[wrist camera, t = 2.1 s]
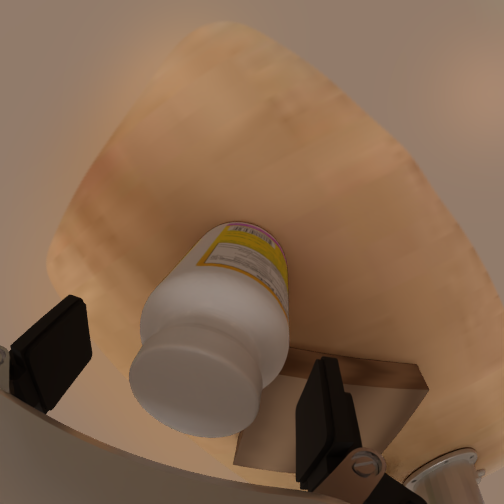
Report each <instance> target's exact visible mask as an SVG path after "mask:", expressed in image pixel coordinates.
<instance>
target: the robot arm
mask: <svg viewBox="0 0 504 504" xmlns="http://www.w3.org/2000/svg"><path fill="white" fill-rule="evenodd" d="M91 357H92V348H91V341H90V334H89V327H88V319H87V310H86V304H85V303H84V302H83V300H82V299H81V298H79V297H76V296H73V295H68V296H67V297H66V298H65V299H63V300H62V301H61V302H60V303H59V304H57V305H56V306H55V307H54V308H53V309H51V310H50V311H49V312H48V313H47V314H45V315H44V316H43V317H42V318H41V319H40V320H39V321H38V322H36V323H35V324H34V325H33V326H32V327H31V328H29V329H28V330H27V331H26V332H25V333H24V334H23V335H22V336H20V337H19V338H18V339H17V340H16V341H15V342H14V343H13V344H12V345H11V350H10V351H9V352H8V350H7V349H6V348H5V347H3V346H0V504H484V501H483V498H482V495H481V493H480V490H479V487H478V484H479V483H480V481H481V476H483V475H484V474H485V469H479V470H477V471H476V469H475V466H474V464H475V462H476V460H477V454H476V451H475V450H474V449H470V448H466V449H460V450H457V451H454V452H451V453H448V454H446V455H444V456H441V457H439V458H437V459H435V460H433V461H431V462H430V463H428V464H426V465H424V466H423V467H421V468H420V469H418V470H417V471H415V472H414V473H413V474H412V475H410V476H409V477H408V478H407V479H406V481H405V482H404V484H403V485H402V484H401V483H399V482H398V481H396V480H395V479H393V478H392V477H390V476H389V475H387V474H386V473H385V471H386V462H385V459H384V458H383V457H382V455H381V454H380V453H378V452H377V451H375V450H373V449H371V448H366V447H363V446H362V441H361V436H360V431H359V426H358V421H357V416H356V412H355V407H354V402H353V398H352V395H351V393H348V392H345V391H344V386H343V381H342V377H341V372H340V367H339V363H338V359H337V358H334V357H326V356H322V357H321V359H316V361H315V363H314V365H313V368H312V370H311V373H310V375H309V377H308V380H307V382H306V385H305V387H304V389H303V392H302V394H301V396H300V398H299V401H298V403H297V406H296V411H295V424H296V482H300V489H303V490H308V492H306V491H301V490H293V489H285V488H278V487H270V486H262V485H255V484H249V483H242V482H237V481H232V480H226V479H221V478H216V477H211V476H206V475H202V474H198V473H194V472H190V471H186V470H182V469H178V468H175V467H171V466H168V465H164V464H161V463H158V462H155V461H152V460H148V459H146V458H143V457H140V456H137V455H134V454H131V453H128V452H126V451H123V450H120V449H118V448H115V447H113V446H110V445H107V444H105V443H103V442H100V441H98V440H96V439H94V438H92V437H89V436H87V435H85V434H83V433H81V432H78V431H76V430H74V429H72V428H70V427H68V426H66V425H64V424H62V423H60V422H58V421H56V420H55V419H53V418H51V417H49V416H47V415H46V413H47V412H48V411H49V410H52V409H53V408H54V407H55V406H56V404H57V403H58V401H59V400H60V399H61V397H62V396H63V395H64V394H65V392H66V391H67V389H68V388H69V387H70V386H71V384H72V383H73V382H74V380H75V379H76V378H77V376H78V375H79V374H80V373H81V371H82V370H83V369H84V367H85V366H86V365H87V363H88V362H89V361H90V360H91Z"/></svg>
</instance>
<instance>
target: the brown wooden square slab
mask: <svg viewBox="0 0 504 504" xmlns="http://www.w3.org/2000/svg"><path fill="white" fill-rule="evenodd" d="M322 356H326V357H334V358H337V359H338V363H339V367H340V372H341V377H342V381H343V386H344V391H345V392H348V393H351V395H352V398H353V402H354V407H355V412H356V416H357V421H358V426H359V431H360V436H361V441H362V446H363V447H366V448H371V449H373V450H375V451H377V452H378V453H380V454H382V452H383V451H384V450H385V449H386V448H387V446H388V445H389V444H390V443H391V442H392V440H393V439H394V438H395V437H396V435H397V434H398V433H399V432H400V430H401V429H402V428H403V426H404V425H405V424H406V422H407V421H408V420H409V418H410V417H411V416H412V414H413V413H414V412H415V410H416V409H417V407H418V406H419V404H420V403H421V401H422V400H423V399H424V397H425V396H426V394H427V393H428V391H429V388H428V386H427V384H426V382H425V380H424V378H423V376H422V374H421V372H420V370H419V368H418V366H417V365H416V364H405V363H394V362H385V361H376V360H368V359H360V358H352V357H345V356H338V355H331V354H325V353H318V352H312V351H306V350H301V349H295V348H289V350H288V354H287V358H286V361H285V363H284V366H283V368H282V369H281V371H280V372H279V374H278V375H277V377H276V378H275V379H274V380H273V381H272V382H271V383H270V384H269V385H267V386H266V387H265V388H263V389H262V393H261V399H260V406H259V411H258V414H257V416H256V418H255V419H254V421H253V422H252V423H251V424H250V425H249V426H248V427H247V428H245V429H244V430H242V431H240V434H239V437H238V441H237V447H236V452H235V457H234V462H233V465H238V466H243V467H249V468H255V469H262V470H269V471H277V472H286V473H296V424H295V411H296V406H297V403H298V401H299V398H300V396H301V394H302V392H303V389H304V387H305V385H306V382H307V380H308V377H309V375H310V373H311V370H312V368H313V365H314V363H315V361H316V359H321V357H322Z"/></svg>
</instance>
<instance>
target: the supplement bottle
mask: <svg viewBox="0 0 504 504" xmlns="http://www.w3.org/2000/svg"><path fill="white" fill-rule="evenodd" d="M140 335H141V341H142V345H143V346H142V347H141V349H140V351H139V352H138V354H137V356H136V357H135V359H134V361H133V362H132V365H131V367H130V372H129V382H130V386H131V389H132V391H133V394H134V396H135V397H136V399H137V401H138V402H139V403H140V404H141V406H142V407H143V408H144V409H145V410H146V411H147V412H148V413H149V414H150V415H152V416H153V417H154V418H155V419H157V420H158V421H160V422H161V423H163V424H165V425H166V426H168V427H170V428H172V429H175V430H177V431H179V432H182V433H185V434H189V435H193V436H198V437H208V438H216V437H225V436H230V435H233V434H236V433H238V432H240V431H242V430H244V429H245V428H247V427H248V426H249V425H250V424H251V423H252V422H253V421H254V419H255V418H256V416H257V414H258V411H259V406H260V399H261V393H262V389H263V388H265V387H266V386H267V385H269V384H270V383H271V382H272V381H273V380H274V379H275V378H276V377H277V375H278V374H279V372H280V371H281V369H282V368H283V366H284V363H285V361H286V358H287V354H288V350H289V307H288V270H287V262H286V258H285V255H284V252H283V250H282V248H281V246H280V245H279V243H278V242H277V241H276V239H275V238H274V237H273V236H272V235H271V234H269V233H268V232H267V231H265V230H264V229H262V228H260V227H258V226H256V225H253V224H249V223H244V222H231V223H225V224H222V225H219V226H217V227H215V228H213V229H211V230H210V231H209V232H207V233H206V234H205V235H204V236H203V237H202V238H201V239H200V240H199V241H198V242H197V243H196V244H195V245H194V246H193V247H192V249H191V250H190V251H189V252H188V253H187V254H186V255H185V256H184V257H183V259H182V260H181V261H180V262H179V263H178V264H177V265H176V266H175V267H174V268H173V270H172V271H171V272H170V273H169V274H168V275H167V276H166V277H165V278H164V279H163V280H162V282H161V283H160V284H159V285H158V286H157V287H156V288H155V290H154V291H153V292H152V293H151V295H150V296H149V298H148V300H147V301H146V303H145V305H144V308H143V311H142V315H141V321H140Z"/></svg>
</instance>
